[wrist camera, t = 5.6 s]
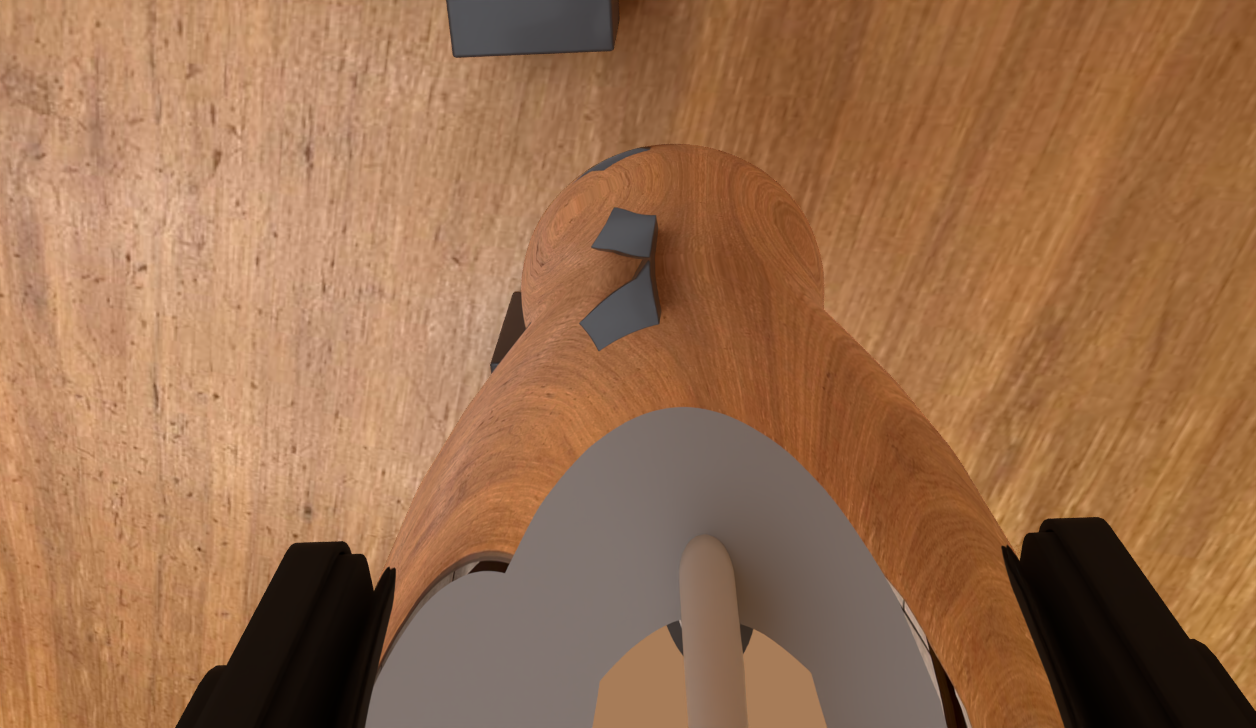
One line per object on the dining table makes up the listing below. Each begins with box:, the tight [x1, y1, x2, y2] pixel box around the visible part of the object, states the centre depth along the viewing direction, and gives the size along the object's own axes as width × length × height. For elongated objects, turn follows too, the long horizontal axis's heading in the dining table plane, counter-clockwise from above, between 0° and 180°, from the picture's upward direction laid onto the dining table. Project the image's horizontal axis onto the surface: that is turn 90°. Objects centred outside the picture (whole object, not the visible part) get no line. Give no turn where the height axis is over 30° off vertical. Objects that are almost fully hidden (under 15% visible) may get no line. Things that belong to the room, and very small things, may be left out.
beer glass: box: [332, 144, 1096, 728], centre depth 13 cm, size 7×7×15 cm
